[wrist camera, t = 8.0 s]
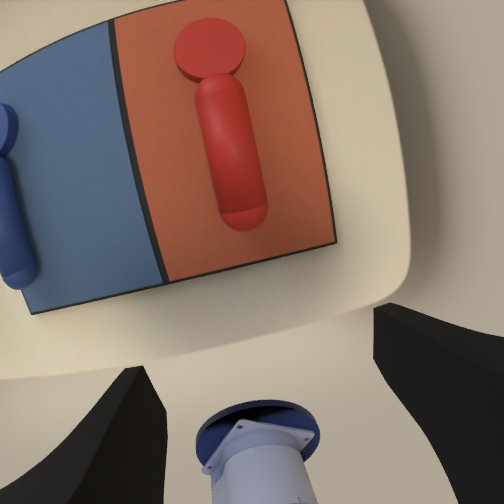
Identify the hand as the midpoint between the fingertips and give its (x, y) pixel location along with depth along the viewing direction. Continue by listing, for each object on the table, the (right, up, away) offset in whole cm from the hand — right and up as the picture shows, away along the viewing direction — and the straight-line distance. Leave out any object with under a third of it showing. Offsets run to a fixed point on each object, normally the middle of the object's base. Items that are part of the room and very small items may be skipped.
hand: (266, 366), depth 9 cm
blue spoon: (-15, +7, +5) cm, 17 cm away
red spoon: (-2, +10, +6) cm, 12 cm away
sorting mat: (-7, +9, +6) cm, 13 cm away
